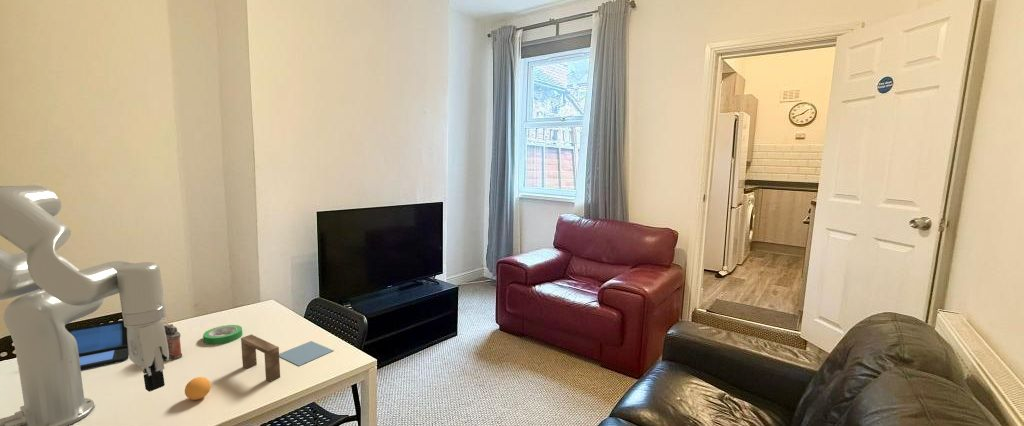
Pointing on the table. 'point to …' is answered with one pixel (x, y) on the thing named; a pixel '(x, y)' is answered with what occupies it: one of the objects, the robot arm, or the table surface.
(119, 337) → the handheld game console
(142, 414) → the table surface
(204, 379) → the ball
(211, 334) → the tape roll
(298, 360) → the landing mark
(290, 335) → the table surface
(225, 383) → the table surface
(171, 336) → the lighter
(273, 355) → the bridge
